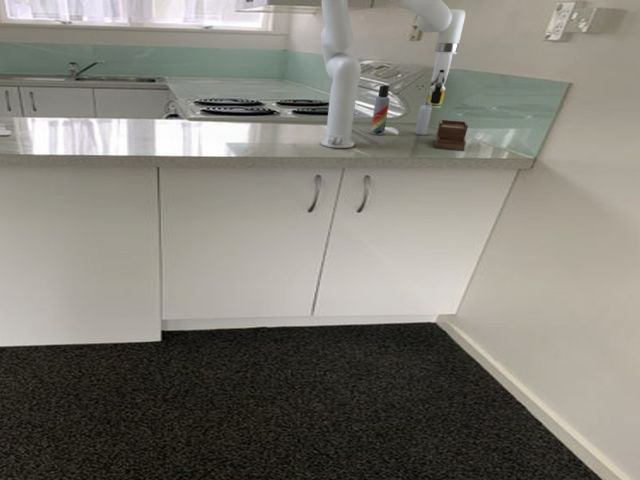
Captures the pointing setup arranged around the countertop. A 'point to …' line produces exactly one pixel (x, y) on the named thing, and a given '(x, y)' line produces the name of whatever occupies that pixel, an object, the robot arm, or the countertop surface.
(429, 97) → the supplement bottle
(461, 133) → the spice rack
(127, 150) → the countertop surface
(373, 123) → the lotion bottle
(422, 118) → the pale translucent container
